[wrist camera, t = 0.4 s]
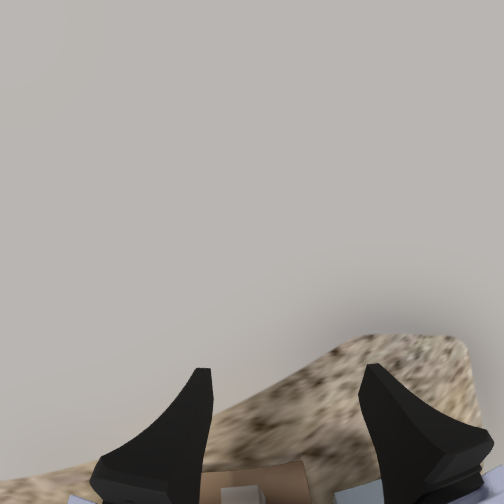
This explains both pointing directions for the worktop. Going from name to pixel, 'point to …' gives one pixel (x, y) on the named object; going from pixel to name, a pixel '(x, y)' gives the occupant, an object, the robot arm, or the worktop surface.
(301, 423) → the worktop surface
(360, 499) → the blue-grey block
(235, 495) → the brown base with post
